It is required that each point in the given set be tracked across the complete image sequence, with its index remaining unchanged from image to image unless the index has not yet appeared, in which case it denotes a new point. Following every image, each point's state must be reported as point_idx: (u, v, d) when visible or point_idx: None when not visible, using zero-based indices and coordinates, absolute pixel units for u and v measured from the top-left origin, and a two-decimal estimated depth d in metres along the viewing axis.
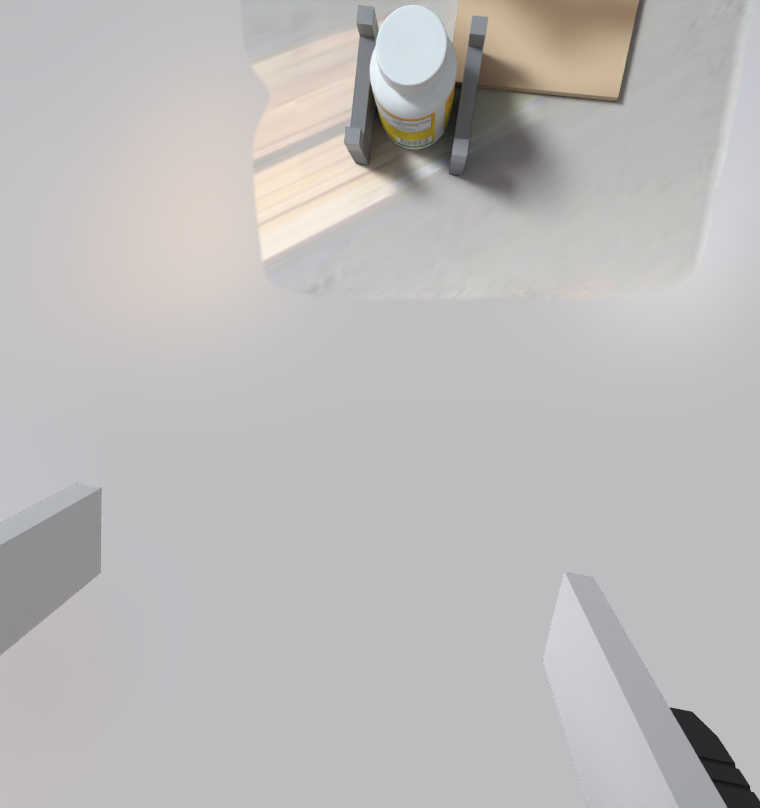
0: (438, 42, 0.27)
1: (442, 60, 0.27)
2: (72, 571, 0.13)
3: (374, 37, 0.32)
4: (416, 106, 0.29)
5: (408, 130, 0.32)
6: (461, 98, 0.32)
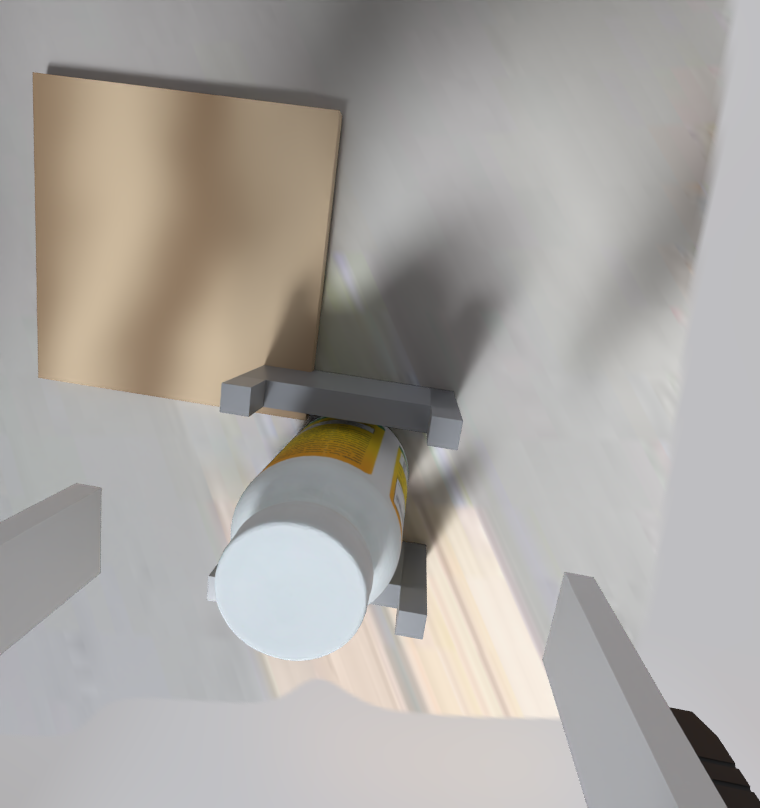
0: (284, 539, 0.12)
1: (320, 531, 0.12)
2: (72, 571, 0.13)
3: None
4: (386, 546, 0.14)
5: None
6: (347, 417, 0.17)
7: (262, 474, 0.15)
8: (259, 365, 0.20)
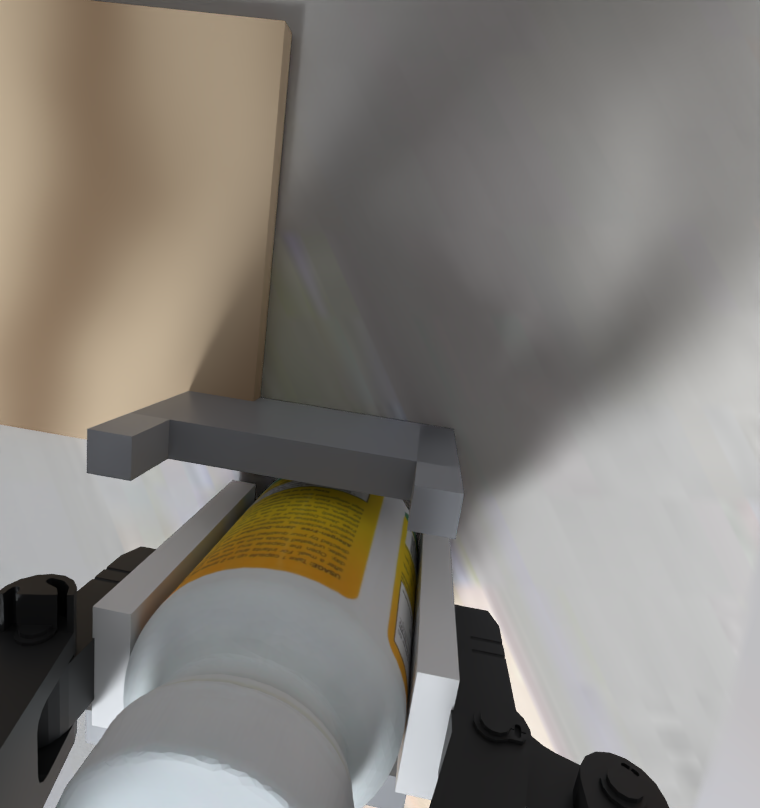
0: (173, 784, 0.06)
1: (241, 774, 0.06)
2: None
3: None
4: (380, 735, 0.08)
5: None
6: (291, 476, 0.12)
7: (173, 599, 0.09)
8: (182, 391, 0.15)
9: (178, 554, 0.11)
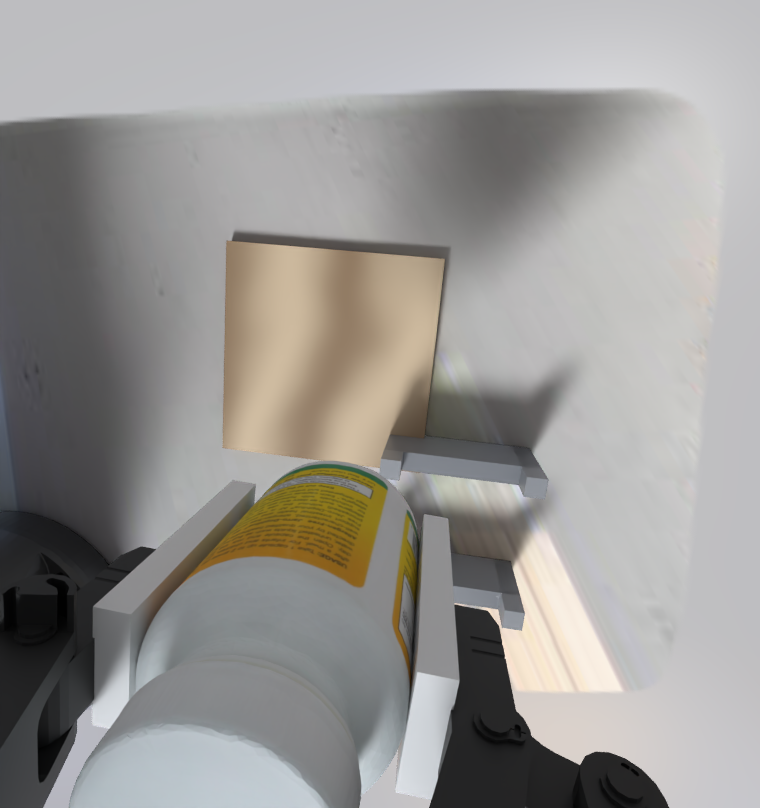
0: (191, 756, 0.06)
1: (257, 745, 0.06)
2: None
3: None
4: (385, 718, 0.08)
5: None
6: (461, 475, 0.25)
7: (186, 587, 0.09)
8: (386, 434, 0.28)
9: (178, 554, 0.11)
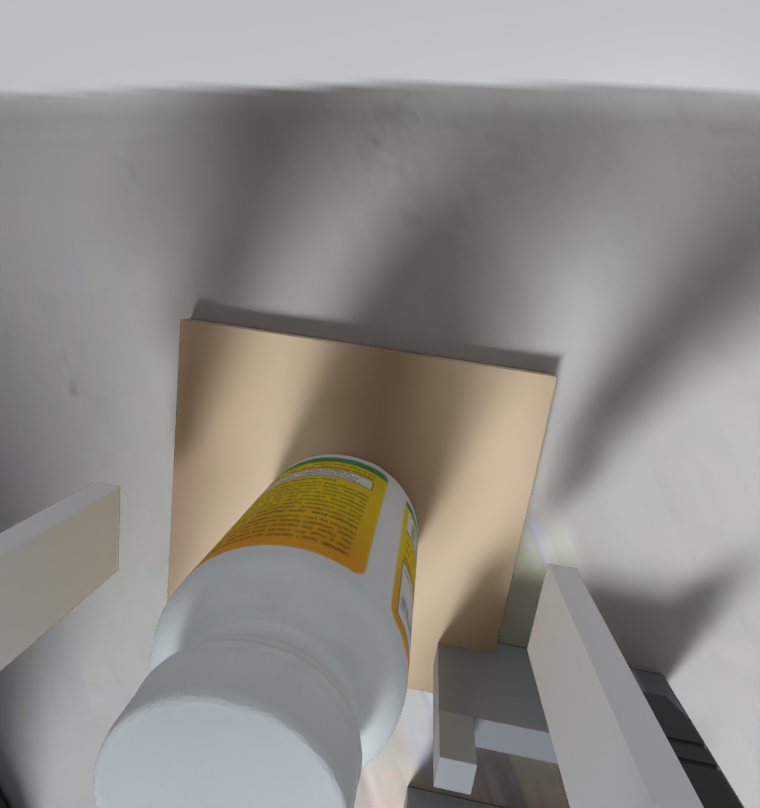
0: (207, 724, 0.07)
1: (267, 715, 0.07)
2: (92, 568, 0.13)
3: None
4: (384, 695, 0.09)
5: (411, 623, 0.12)
6: None
7: (197, 573, 0.10)
8: (431, 642, 0.17)
9: None
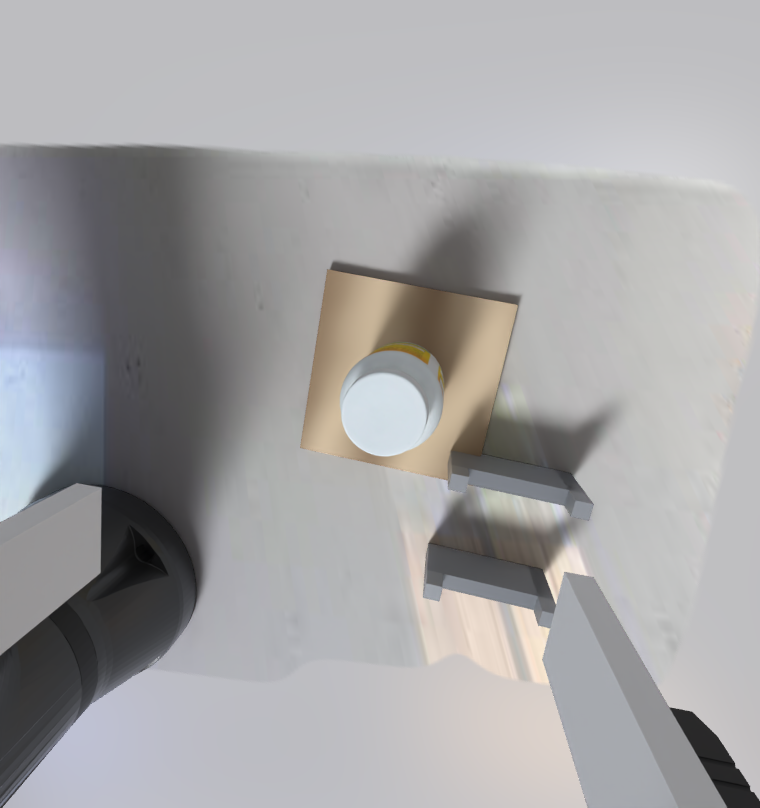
0: (384, 382, 0.22)
1: (404, 378, 0.22)
2: (72, 571, 0.13)
3: (442, 573, 0.31)
4: (435, 404, 0.24)
5: None
6: (515, 493, 0.29)
7: (363, 359, 0.24)
8: (447, 450, 0.32)
9: None
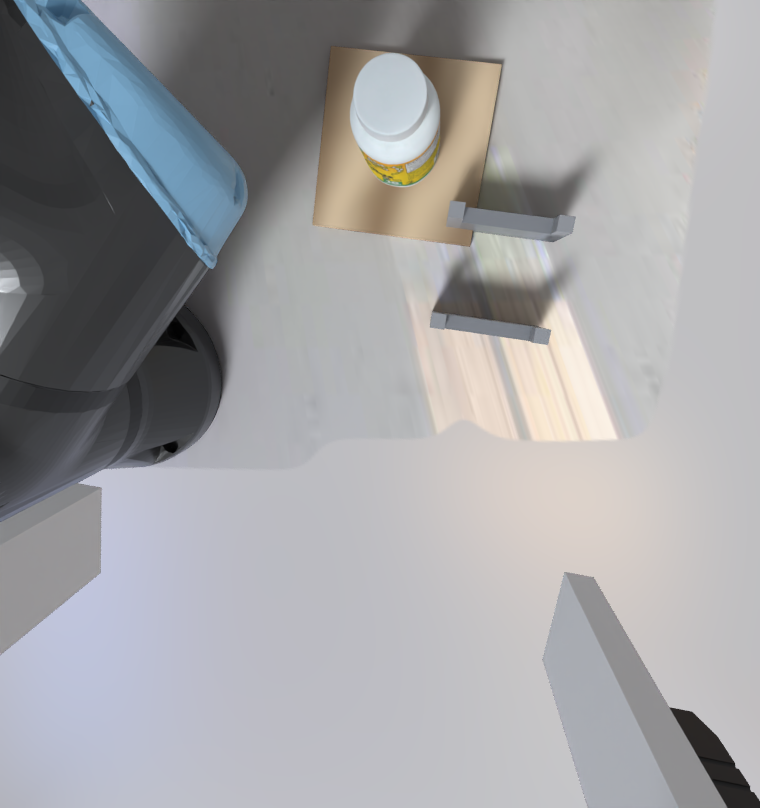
0: (389, 62, 0.25)
1: (406, 56, 0.25)
2: (72, 571, 0.13)
3: None
4: (433, 104, 0.28)
5: (439, 133, 0.30)
6: (507, 226, 0.33)
7: None
8: (445, 212, 0.36)
9: None
